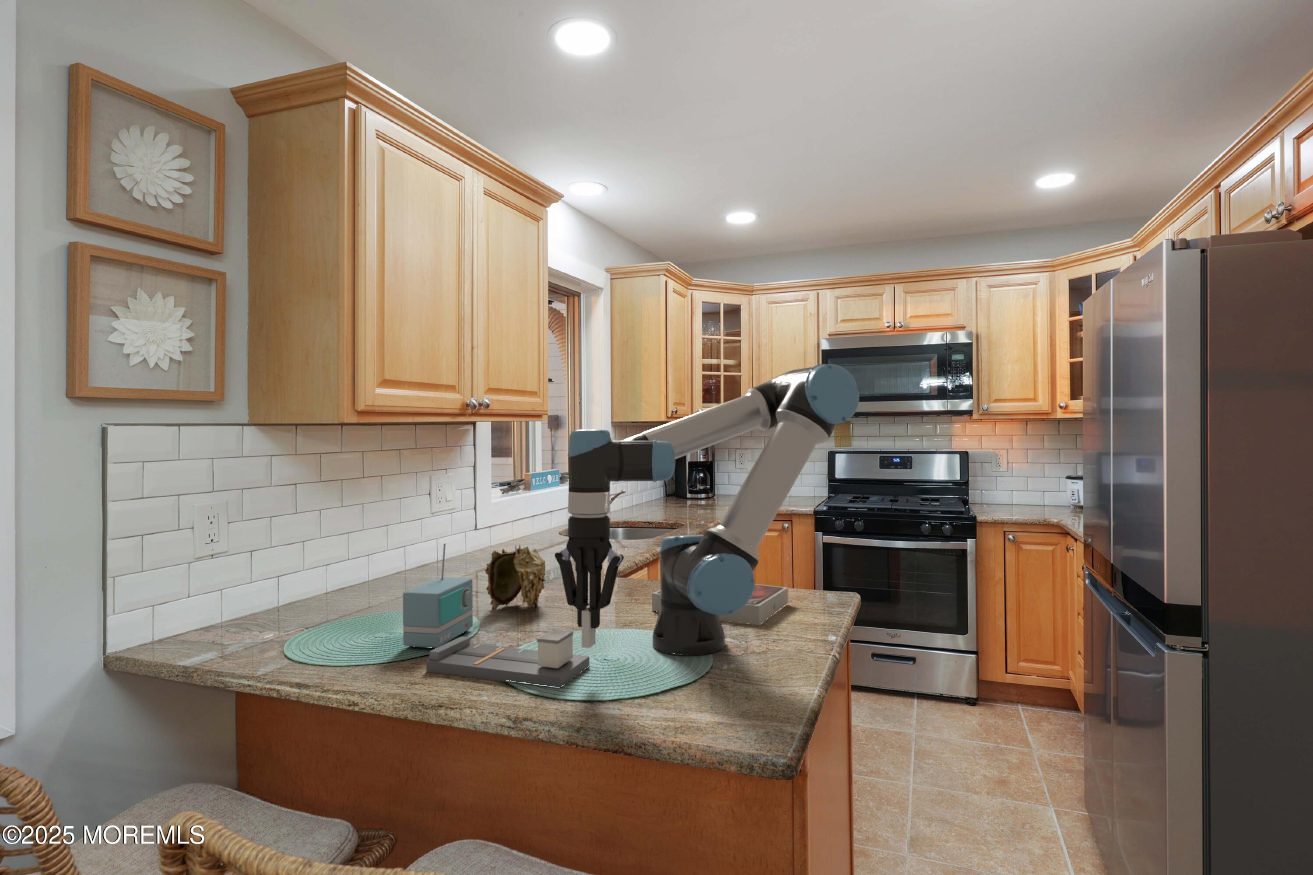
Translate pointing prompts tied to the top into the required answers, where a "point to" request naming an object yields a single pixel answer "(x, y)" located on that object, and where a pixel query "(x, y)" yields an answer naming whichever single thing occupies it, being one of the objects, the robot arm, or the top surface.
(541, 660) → the fader tab
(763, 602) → the product packaging
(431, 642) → the radio
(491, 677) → the fader console
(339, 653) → the top surface
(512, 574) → the seashell
